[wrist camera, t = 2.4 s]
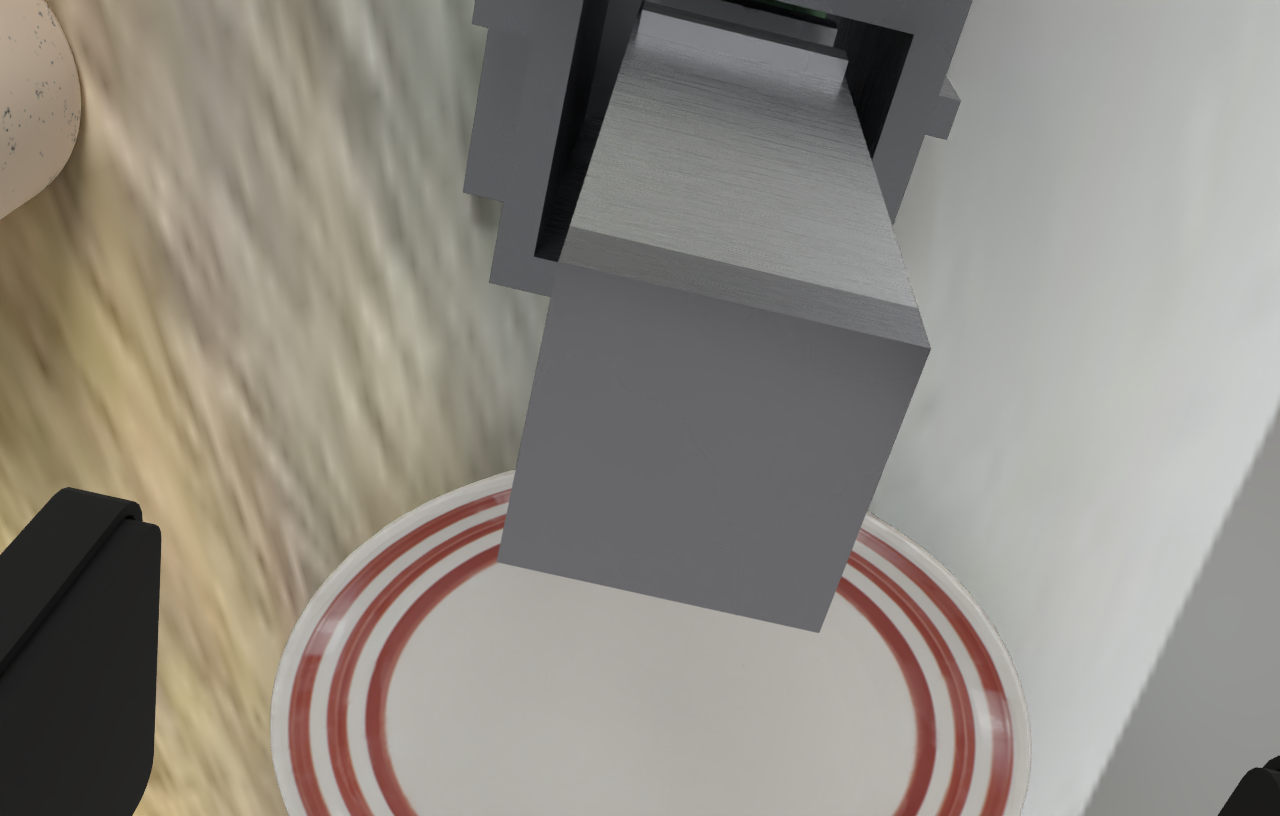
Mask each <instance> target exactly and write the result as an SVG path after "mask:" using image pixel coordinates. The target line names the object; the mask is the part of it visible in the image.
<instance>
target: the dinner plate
mask: <svg viewBox="0 0 1280 816" xmlns="http://www.w3.org/2000/svg"><path fill="white" fill-rule="evenodd" d="M515 470H516V469H515ZM515 470H510V471H507V472H503V473H499V474H496V475H493V476H490V477H488V478H485V479H482V480H479V481H476V482H473V483H470V484H468V485H465V486H462V487H460V488H458V489H455V490H453V491H450V492H447V493H445V494H443V495H441V496H439V497H436V498H434V499H432V500H430V501H428V502H426V503H424V504H422V505H420V506H418V507H417V508H416V509H414V510H412V511H410V512H407V513H405V514H403V515H402V516H400V517H399V518H397V519H396V520H394V521H393V522H391V523H389V524H388V525H386V526H385V527H383V528H382V529H381V530H380V531H378V532H377V533H376V534H374V535H373V536H372V537H371V538H369V539H368V540H367V541H366V542H364V543H363V544H362V545H360V546H359V547H358V548H357V549H355V550H354V551H353V552H352V553H351V554H350V555H349V556H348V557H347V558H346V559H345V560H344V561H343V562H342V563H341V564H340V565H339V566H338V567H337V568H336V569H335V570H334V571H333V572H332V573H331V574H330V575H329V576H328V577H327V579H326V580H325V581H324V582H323V584H322V585H321V586H320V587H319V588H318V590H317V591H316V592H315V594H314V595H313V596H312V598H311V599H310V601H309V602H308V604H307V606H306V607H305V609H304V611H303V612H302V614H301V616H300V617H299V619H298V621H297V623H296V624H295V626H294V628H293V630H292V632H291V634H290V636H289V639H288V641H287V643H286V646H285V649H284V651H283V654H282V657H281V660H280V662H279V666H278V669H277V673H276V677H275V682H274V687H273V692H272V700H271V712H270V739H271V751H272V759H273V766H274V770H275V775H276V779H277V783H278V786H279V789H280V792H281V795H282V798H283V801H284V804H285V806H286V809H287V811H288V814H289V816H1020V815H1021V812H1022V808H1023V805H1024V801H1025V798H1026V794H1027V790H1028V783H1029V776H1030V769H1031V731H1030V723H1029V717H1028V711H1027V705H1026V702H1025V698H1024V694H1023V690H1022V686H1021V682H1020V679H1019V677H1018V674H1017V672H1016V669H1015V667H1014V665H1013V662H1012V660H1011V658H1010V655H1009V653H1008V651H1007V649H1006V647H1005V645H1004V643H1003V641H1002V640H1001V638H1000V636H999V634H998V632H997V630H996V628H995V627H994V625H993V624H992V622H991V621H990V619H989V618H988V616H987V615H986V613H985V612H984V611H983V609H982V608H981V607H980V605H979V604H978V603H977V602H976V600H975V599H974V598H973V596H972V595H971V594H970V593H969V592H968V591H967V590H966V588H965V587H964V586H963V585H962V584H961V583H960V582H959V581H958V580H957V579H956V578H955V577H954V576H953V575H952V574H951V573H950V572H949V571H948V570H947V569H946V568H945V567H944V566H943V565H942V564H941V563H940V562H939V561H938V560H936V559H935V558H934V557H933V556H932V555H931V554H929V553H928V552H927V551H926V550H925V549H924V548H922V547H921V546H920V545H918V544H917V543H916V542H914V541H913V540H911V539H910V538H909V537H907V536H906V535H904V534H903V533H902V532H900V531H899V530H897V529H896V528H894V527H893V526H891V525H889V524H887V523H886V522H884V521H883V520H881V519H879V518H878V517H876V516H875V515H873V514H872V513H870V512H868V511H867V513H866V515H865V518H864V520H863V523H862V526H861V528H860V531H859V533H858V536H857V538H856V541H855V543H854V546H853V549H852V551H851V554H850V556H849V559H848V561H847V564H846V566H845V569H844V571H843V574H842V577H841V579H840V582H839V584H838V587H837V589H836V592H835V594H834V597H833V600H832V602H831V605H830V607H829V610H828V612H827V615H826V617H825V620H824V622H823V625H822V628H821V630H820V633H816V632H811V631H807V630H802V629H797V628H793V627H788V626H784V625H779V624H775V623H770V622H766V621H761V620H757V619H752V618H748V617H743V616H738V615H734V614H729V613H725V612H720V611H716V610H711V609H707V608H702V607H698V606H693V605H689V604H684V603H679V602H675V601H670V600H666V599H661V598H657V597H652V596H648V595H643V594H639V593H634V592H630V591H625V590H620V589H616V588H611V587H607V586H602V585H598V584H593V583H589V582H584V581H580V580H575V579H570V578H566V577H561V576H557V575H552V574H548V573H543V572H539V571H534V570H530V569H525V568H521V567H516V566H511V565H507V564H502V563H498V562H497V557H498V553H499V548H500V543H501V538H502V533H503V528H504V523H505V519H506V514H507V509H508V504H509V499H510V494H511V489H512V485H513V480H514V475H515Z"/></svg>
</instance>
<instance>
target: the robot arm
mask: <svg viewBox="0 0 1280 816" xmlns="http://www.w3.org/2000/svg"><path fill="white" fill-rule="evenodd" d="M160 564H161V531H160V528H159V526H157V525H155V524H150V523H146V522H143V521H142V511H141V508H140V506H139V504H137V503H136V502H134V501H129V500H125V499H120V498H116V497H111V496H107V495H102V494H98V493H93V492H89V491H84V490H79V489H75V488H70V487H67V488H64V489H61V490H60V491H59V492H57V493H56V494H55V495H54V496H53V497H52V498H51V499H50V500H49V501H48V503H47V504H46V505H45V506H44V507H43V508H42V509H41V510H40V511H39V513H38V514H37V515H36V516H35V517H34V518H33V519H32V520H31V521H30V523H29V524H28V525H27V526H26V527H25V528H24V529H23V530H22V531H21V533H20V534H19V535H18V536H17V537H16V538H15V539H14V540H13V541H12V543H11V544H10V545H9V546H8V547H7V548H6V549H5V550H4V551H3V553H2V554H1V555H0V816H132V815H133V813H134V812H135V810H136V808H137V806H138V804H139V802H140V800H141V798H142V796H143V794H144V791H145V789H146V786H147V783H148V780H149V777H150V773H151V769H152V764H153V756H154V733H155V704H156V676H157V648H158V620H159V592H160ZM1218 816H1280V756H1277V757H1275V758H1273V759H1271V760H1269V761H1268V762H1267V764H1266V765H1265V766H1264V767H1263V768H1254V769H1252V770H1250V771H1248V772H1247V773H1246V775H1245V776H1244V777H1243V778H1242V780H1241V781H1240V783H1239V784H1238V786H1237V787H1236V789H1235V790H1234V792H1233V793H1232V795H1231V796H1230V798H1229V799H1228V801H1227V802H1226V804H1225V805H1224V807H1223V808H1222V810H1221V811H1220V813H1219V814H1218Z"/></svg>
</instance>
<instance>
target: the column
mask: <svg viewBox="0 0 1280 816" xmlns="http://www.w3.org/2000/svg"><path fill="white" fill-rule="evenodd" d="M837 31H838V28H837V25H836V22H835V21H834V20H829V19H827V18H826V13H825V12H821V11H817V10H813V9H809V8H805V7H801V6H797V5H793V4H789V3H785V2H781V1H777V0H642V2H641V5H640V8H639V11H638V15H637V18H636V21H635V24H634V27H633V30H632V33H631V36H630V40H629V43H628V46H627V49H626V52H625V55H624V58H623V61H622V64H621V68H620V71H619V74H618V77H617V80H616V83H615V86H614V89H613V93H612V96H611V99H610V102H609V105H608V108H607V111H606V114H605V118H604V121H603V124H602V127H601V130H600V133H599V136H598V139H597V143H596V146H595V149H594V152H593V155H592V158H591V161H590V164H589V168H588V171H587V174H586V177H585V180H584V183H583V186H582V189H581V192H580V196H579V199H578V202H577V205H576V208H575V211H574V214H573V217H572V221H571V224H570V227H569V230H568V233H567V236H566V239H565V242H564V246H563V249H562V252H561V255H560V258H559V261H558V266H557V271H556V276H555V281H554V285H553V290H552V295H551V300H550V305H549V310H548V315H547V319H546V324H545V329H544V334H543V339H542V344H541V349H540V353H539V358H538V363H537V368H536V373H535V378H534V383H533V387H532V392H531V397H530V402H529V407H528V412H527V417H526V421H525V426H524V431H523V436H522V441H521V446H520V451H519V455H518V460H517V465H516V470H515V475H514V480H513V485H512V489H511V494H510V499H509V504H508V509H507V514H506V519H505V523H504V528H503V533H502V538H501V543H500V548H499V553H498V557H497V562H498V563H502V564H507V565H511V566H516V567H521V568H525V569H530V570H534V571H539V572H543V573H548V574H552V575H557V576H561V577H566V578H570V579H575V580H580V581H584V582H589V583H593V584H598V585H602V586H607V587H611V588H616V589H620V590H625V591H630V592H634V593H639V594H643V595H648V596H652V597H657V598H661V599H666V600H670V601H675V602H679V603H684V604H689V605H693V606H698V607H702V608H707V609H711V610H716V611H720V612H725V613H729V614H734V615H738V616H743V617H748V618H752V619H757V620H761V621H766V622H770V623H775V624H779V625H784V626H788V627H793V628H797V629H802V630H807V631H811V632H816V633H820V630H821V628H822V625H823V622H824V620H825V617H826V615H827V612H828V610H829V607H830V605H831V602H832V600H833V597H834V594H835V592H836V589H837V587H838V584H839V582H840V579H841V577H842V574H843V571H844V569H845V566H846V564H847V561H848V559H849V556H850V554H851V551H852V549H853V546H854V543H855V541H856V538H857V536H858V533H859V531H860V528H861V526H862V523H863V520H864V518H865V515H866V513H867V510H868V508H869V505H870V503H871V500H872V498H873V495H874V492H875V490H876V487H877V485H878V482H879V480H880V477H881V475H882V472H883V469H884V467H885V464H886V462H887V459H888V457H889V454H890V452H891V449H892V447H893V444H894V441H895V439H896V436H897V434H898V431H899V429H900V426H901V424H902V421H903V419H904V416H905V413H906V411H907V408H908V406H909V403H910V401H911V398H912V396H913V393H914V390H915V388H916V385H917V383H918V380H919V378H920V375H921V373H922V370H923V368H924V365H925V362H926V360H927V357H928V355H929V352H930V350H931V347H930V344H929V341H928V338H927V335H926V332H925V328H924V325H923V322H922V319H921V316H920V313H919V309H918V306H917V303H916V300H915V297H914V294H913V290H912V287H911V284H910V281H909V278H908V275H907V271H906V268H905V265H904V262H903V259H902V256H901V252H900V249H899V246H898V243H897V240H896V237H895V233H894V230H893V227H892V224H891V221H890V218H889V214H888V211H887V208H886V205H885V202H884V199H883V195H882V192H881V189H880V186H879V183H878V180H877V176H876V173H875V170H874V167H873V164H872V161H871V157H870V154H869V151H868V148H867V145H866V142H865V138H864V135H863V132H862V129H861V126H860V123H859V119H858V116H857V113H856V110H855V107H854V104H853V100H852V97H851V94H850V91H849V88H848V85H847V81H846V78H845V75H844V74H845V71H846V68H847V65H848V61H849V60H848V57H847V54H846V51H845V50H842V49H838V48H836V47H835V43H834V41H835V38H836V35H837Z"/></svg>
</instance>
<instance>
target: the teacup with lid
mask: <svg viewBox="0 0 1280 816" xmlns="http://www.w3.org/2000/svg"><path fill="white" fill-rule="evenodd" d="M80 117H81V92H80V83H79V77H78V72H77V68H76V64H75V61H74V57H73V54H72V51H71V49H70V46H69V43H68V41H67V39H66V36H65V34H64V32H63V30H62V28H61V26H60V24H59V22H58V21H57V19H56V17H55V15H54V14H53V12H52V10H51V9H50V7H49V6H48V4H47V3H46V2H45V0H0V220H1V219H2V218H4V217H5V216H6V215H8V214H9V213H11V212H12V211H14V210H15V209H17V208H18V207H20V206H21V205H23V204H24V203H25V202H27V201H28V200H30V199H31V198H33V197H34V196H36V195H37V194H39V193H40V192H41V191H43V190H44V189H45V188H46V187H47V186H48V185H50V184H51V182H52V181H53V180H54V179H55V178H56V177H57V176H58V175H59V173H60V172H61V170H62V169H63V168H64V166H65V165H66V163H67V161H68V159H69V157H70V155H71V153H72V151H73V148H74V145H75V143H76V139H77V135H78V131H79V125H80Z"/></svg>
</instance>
